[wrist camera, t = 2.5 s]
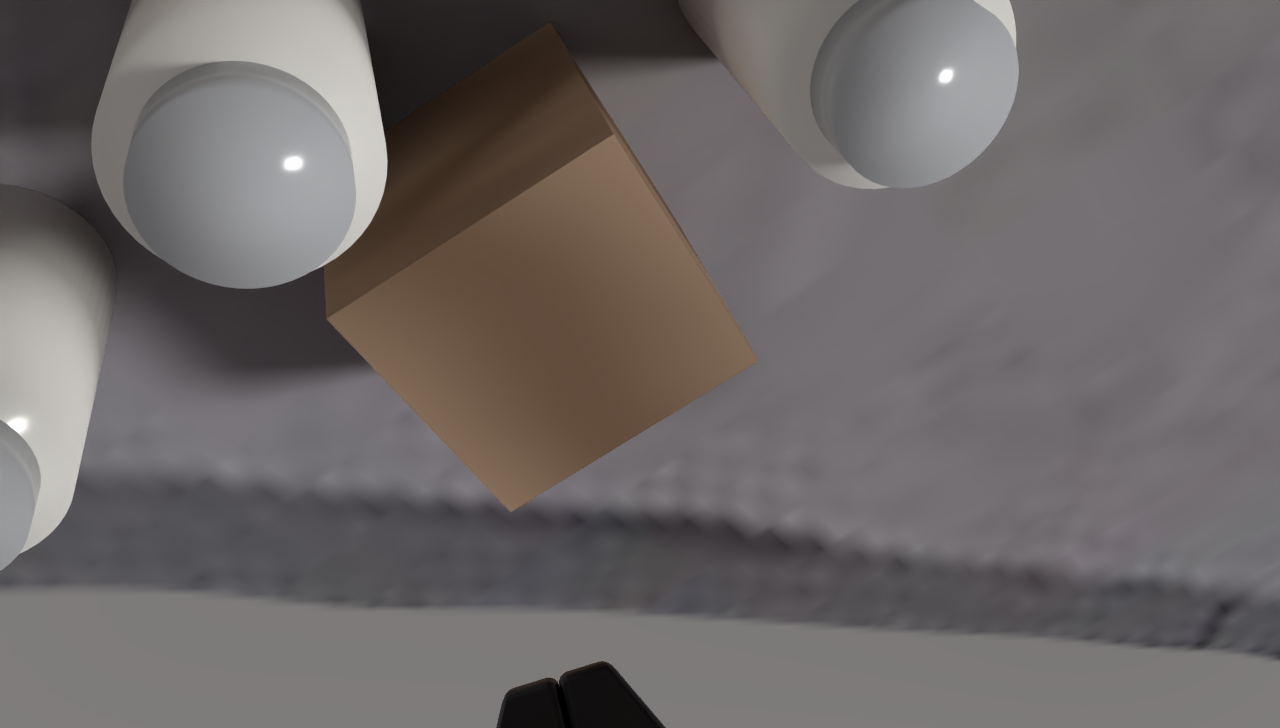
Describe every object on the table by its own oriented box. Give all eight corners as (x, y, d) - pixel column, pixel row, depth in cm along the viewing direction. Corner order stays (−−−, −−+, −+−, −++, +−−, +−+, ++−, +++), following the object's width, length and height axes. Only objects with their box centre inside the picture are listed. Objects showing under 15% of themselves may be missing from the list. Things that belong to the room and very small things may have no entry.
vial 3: (858, -167, 18) (1056, -64, 13) (865, 31, 20) (1042, 180, 15) (659, -120, 18) (793, 1, 13) (686, 78, 20) (811, 243, 15)
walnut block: (549, 19, 18) (613, 134, 15) (677, 222, 21) (759, 360, 18) (317, 173, 19) (326, 319, 15) (472, 352, 22) (510, 512, 18)
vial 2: (324, -116, 16) (342, 17, 12) (389, 92, 18) (425, 277, 14) (97, -64, 16) (25, 93, 12) (186, 142, 18) (155, 349, 13)
